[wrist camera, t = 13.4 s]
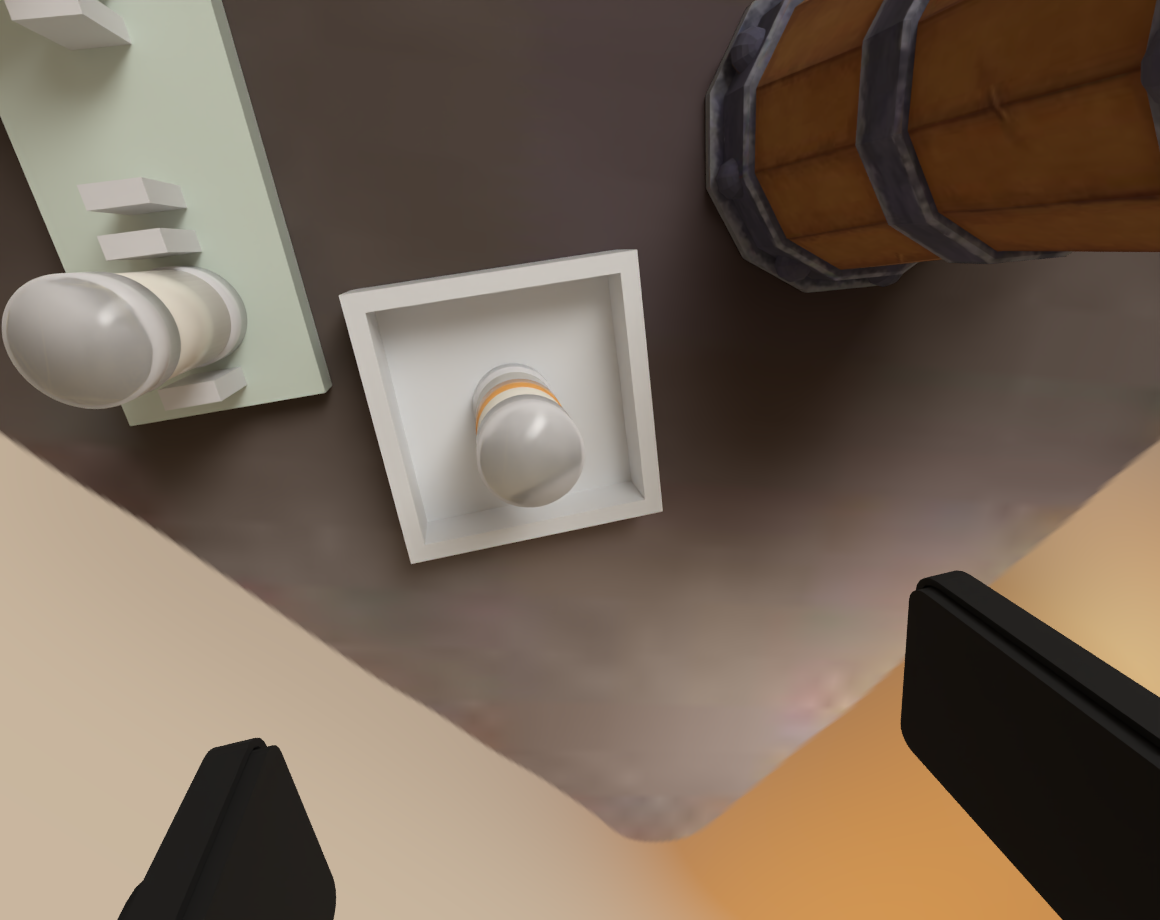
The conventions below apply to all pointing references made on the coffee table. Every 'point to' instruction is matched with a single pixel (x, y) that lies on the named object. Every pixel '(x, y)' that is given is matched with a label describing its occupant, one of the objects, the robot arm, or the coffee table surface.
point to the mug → (934, 134)
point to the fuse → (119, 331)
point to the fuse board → (159, 176)
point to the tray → (487, 340)
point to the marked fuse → (524, 438)
